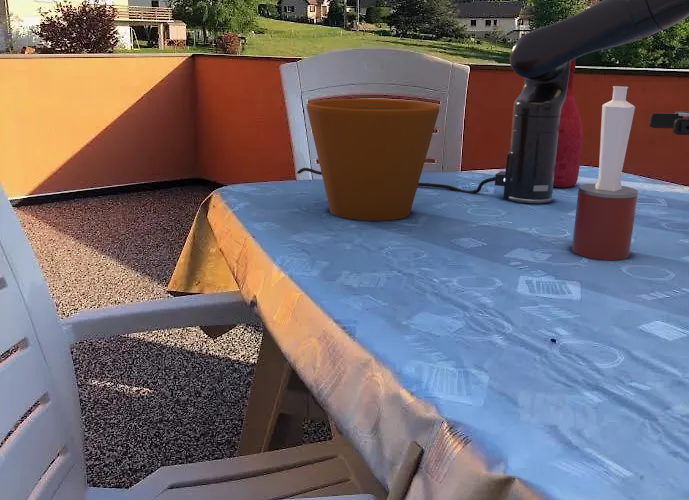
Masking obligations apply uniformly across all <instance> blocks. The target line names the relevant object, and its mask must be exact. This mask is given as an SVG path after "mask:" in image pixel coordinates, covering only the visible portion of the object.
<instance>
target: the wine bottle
mask: <svg viewBox="0 0 689 500" xmlns="http://www.w3.org/2000/svg"><path fill="white" fill-rule="evenodd" d="M576 61H577V58H576V59H573V60H571V65H570V73H569V80H568V87H567V94H566V98H565V101H564V103H563V105H562V108H561V114H560V124H559V134H558V144H557V153H556V163H555V173H554V182H553V188H560V189H562V188H565V189H566V188H571V187H574V186H576V185H577V183H578V179H579V175H580V174H579V173H580V166H581V158H582V152H583V151H582V150H583V142H584V141H583V140H584V130H583V125H582V119H581V116H580V112H579V110H578V106H577V103H576V100H575V96H574V88H573V83H574V82H573V81H574V72H575V70H576V63H577V62H576Z"/></svg>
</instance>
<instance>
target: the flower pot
mask: <svg viewBox="0 0 689 500" xmlns="http://www.w3.org/2000/svg"><path fill="white" fill-rule="evenodd" d="M306 111H307V116H308V120H309V124H310V125H309V126H310V129H311V134H312V137H313V142H314V147H315V151H316V155H317V159H318V164H319V168H320V172H321V173H322V175H321V176H322V182H323V185H324V191H325V194H326V199H327V203H328V208H329V212H330V213H331V215H333V216H337V217H339V218H345V219H350V220H356V221H368V222H369V221H370V222H371V221H373V222H374V221H376V222H377V221H379V222H381V221H382V222H383V221H393V220H395V221H396V220H400V219H401V220H402V219H405V218H407V217H409V216H410V214H411V211H412V207H413V203H414V201H415V196H416V193H417V190H418V187H419V186H418V183H420V179H421V176H422V173H423V169H424V165H425V162H426V159H427V155H428V152H429V148H430V145H431V141H432V137H433V134H434V131H435V127H436V123H437V120H438V117H439V113H440V105H438V104H437V103H434V102H433V103H432V102H427V101H421V100H408V99H394V98H393V99H390V98H327V99H314V100H310V101H308V102H307V103H306Z"/></svg>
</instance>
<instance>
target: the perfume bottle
mask: <svg viewBox="0 0 689 500" xmlns="http://www.w3.org/2000/svg"><path fill="white" fill-rule="evenodd" d="M612 88H613V89H612V98H611V100H609V101H607V102H605V103H603V104H602V105H601V123H600V124H601V125H600V141H599V142H600V143H599V162H598V164H599V165H598V177H597V180H596V182H595V184H596V185H595V187H596V189H598V190H607V191H617V190H621V189H622V187H621V186H622V182H621V181H622V179H621V178H622V173H623V169H624V163H625V159H626V154H627V149H628V144H629V140H630V134H631V129H632V125H633V120H634V114H635V111H636V106H635V105H633V104H632V103H630V102H629V101H627V93H628V89H629V86H622V85H620V86H619V85H618V86H617V85H614V86H612Z"/></svg>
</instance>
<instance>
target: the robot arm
mask: <svg viewBox="0 0 689 500" xmlns="http://www.w3.org/2000/svg"><path fill="white" fill-rule="evenodd" d="M688 17H689V0H601V1H599V2H597V3H595V4H593V5H591V6H590V7H588V8H585V9H584V10H582V11H580V12H579V13H577V14H575V15H572V16H570V17H568V18H565V19H562V20H561V21H558V22H555V23H552V24H550V25H547V26H544V27H540V28H537V29H534V30H531V31H529V32H527V33H525V34H523V35H522V36H520V37H519V38H518V40H516V41H515V43H514V44H513V46H512V48H511V50H510V53H509V65H510V68H511V69H512V71H513V73H515V74H516V75H517V76H519V77H520V78H522V79H524V81H523V87H522V90H521V93H520V94H519V95H518V97H517V98H516V99H515V100H514V102H513V107H512V121H511V131H510V132H511V134H510V143H509V144H510V145H509V151H508V152H507V153H506V159H505V160H506V161H505V170H499V172H497V173H495V176H493V177H489V178H485V179H483V180H482V181H480V182H479V184H478V186H477V187H476V189H472V190H466V189H461V188H458V187H455V186H452V185H449V184H441V183H430V182H419V183H418V187H427V188H439V189H447V190H451V191H454V192H459V193H466V194H471V195H472V194H474V195H475V194H479V192H481V190H482V189H483V188H482V187H483V186H484V185H486V184H487V183H491V182H494V186H495V187H496V186H498V187H503V195H502V196H503V197H502V199H503V200H508V201H512V202H516V203H522V204H547V203H551V202H552V201H553V193H554V187H553V182H554V173H555V163H556V153H557V144H558V134H559V124H560V114H561V108H562V105H563V103H564V101H565V98H566V94H567V87H568V80H569V73H570V65H571V60H573V59H576V60H577V59H578V58H580V57H582V56H585V55H588V54H590V53H594V52H598V51H602V50H607V49H612V48H616V47H620V46H622V45H623V46H624V45H626V44H630V43H633V42H636V41H639V40H642V39H645V38H647V37H650V36H652V35H655V34H657V33H660V32H661V31H664V30H667V29H668V28H670V27H673V26H675V25H676V24H678V23H680V22H682V21H683V20H685V19H686V18H688ZM684 117H686V118H684ZM648 126H649V128H652V129H672V133H673V135H677V136H689V111H681V110H676V111H673V113H671V112H652V113H651V114H650V115H649V122H648ZM303 172H309V173H312V174H315V175H320V176H322V173H321V170H320V171H319V170H315V169H313V168H310V167H302V168H300V169H299V170H297V172H296V174H297V175H298V174H302V173H303Z"/></svg>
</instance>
